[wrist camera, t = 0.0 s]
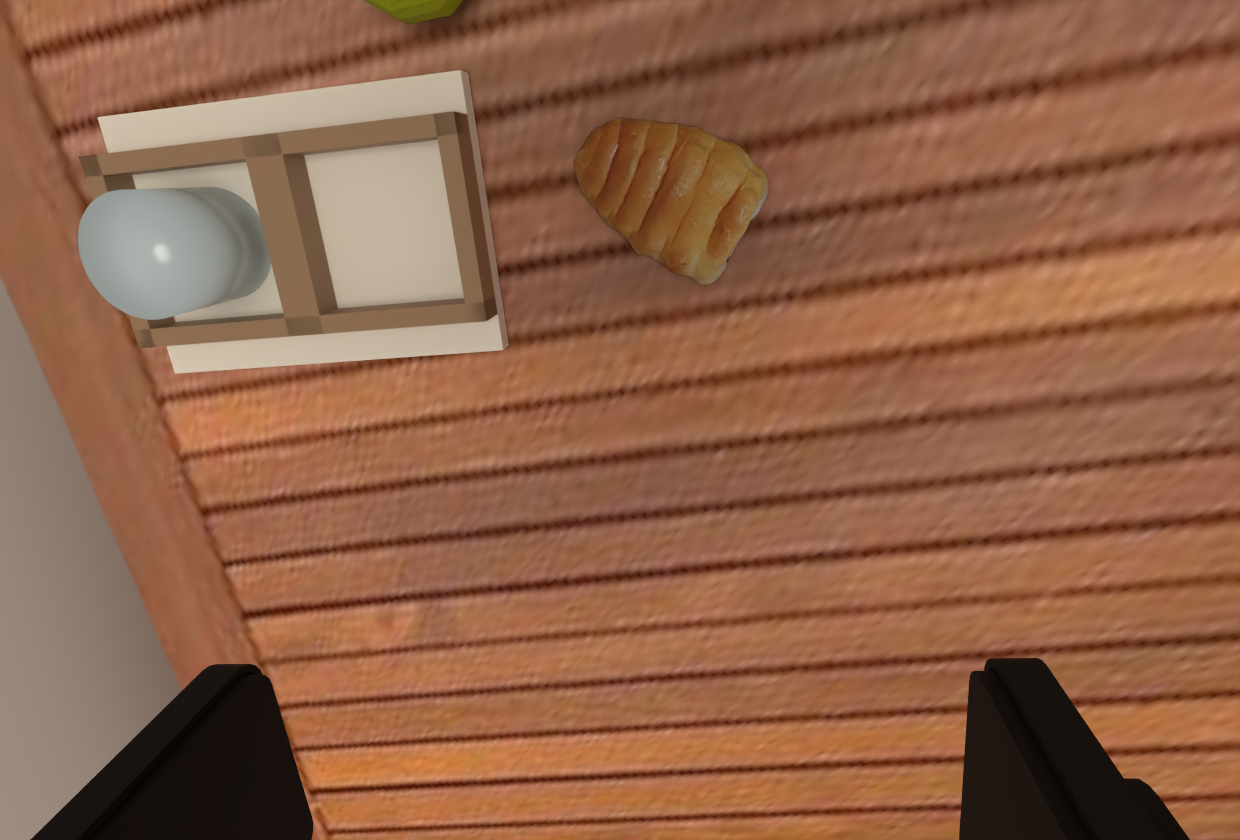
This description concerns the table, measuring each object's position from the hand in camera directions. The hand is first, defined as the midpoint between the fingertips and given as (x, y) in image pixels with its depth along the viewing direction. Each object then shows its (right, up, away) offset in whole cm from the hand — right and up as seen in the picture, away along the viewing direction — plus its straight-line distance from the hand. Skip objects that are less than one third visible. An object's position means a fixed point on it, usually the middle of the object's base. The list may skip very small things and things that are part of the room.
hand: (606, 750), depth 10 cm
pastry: (+3, +16, +28) cm, 32 cm away
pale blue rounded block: (-22, +14, +30) cm, 40 cm away
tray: (-17, +15, +30) cm, 38 cm away
